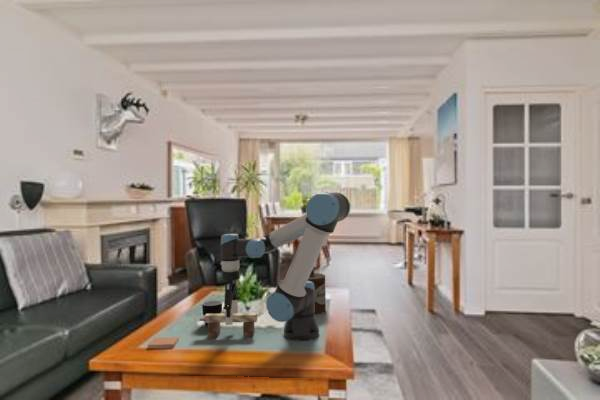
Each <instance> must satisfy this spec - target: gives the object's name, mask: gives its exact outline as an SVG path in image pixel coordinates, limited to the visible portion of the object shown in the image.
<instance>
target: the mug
mask: <svg viewBox="0 0 600 400" xmlns="http://www.w3.org/2000/svg"><path fill="white" fill-rule="evenodd" d="M201 305H202V307H201V308H202V316H203V315H206V314H216V313H223V302H222V301H221V300H216V299H215V300H207V301H204V302H202V303H201ZM203 323H204V325H205V326H206V327H208V323H205V321H203Z"/></svg>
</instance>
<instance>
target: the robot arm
mask: <svg viewBox="0 0 600 400" xmlns="http://www.w3.org/2000/svg"><path fill="white" fill-rule="evenodd" d="M305 206H306V207H305V214H303V215H301V216H298V218H297V217H296V218H295V219H294V220H292V221H290V222H288V223H286V224H284V225H282V226H280V227H279V228H276V229H274V230H273V231H270V232H269V233H267V234H265V235H262V236H257V237H254V238H253V237H252V238H248V239H247V238H240V237H239V233H224V234H221V237H220V251H221V252H220V253H221V255H220V256H221V262H220V265H221V270H222V271H221V280H222V281H226V284H225V285H224V303H223V305H224V306H222V310H224V311H225V312H224V313H225V318H226V322H225V326H233V323H234V322H232V313H239V312H238V311H239V310H238V309H239V307H238V301H239V300H240V297H239V291H238V283H237V281H238V280H239V279H240V270H239V269H240V258H251V259H256V258H257V259H259V258H262V257H263V255H264V254H270V253H272V252H274V251H276V250H277V249H278V248H280V247H283V246H284V245H286V244H289V243H290V242H293V241H295V240H297V239H299V238H300V239H301V240H300V241H299V244H298V246H297V249H296V250H295V254H294V256H293V258H292V260H291V263H290V265H289V268H288V270H287V272H286V275H285V276H284V279H281V280H279V281H278V282H277V283H278V284H277V286H276V288H275V291H274V292H273V293H270V295H269V296H268V297H267V299H266V301H265V307H266V310H267V313H268V315H269V316H270V317H271V318H272V319H273V320H275V321H276V322H279V323H280V322H281V323H284V322H285V324H284V328H283V335H284V337H285V338H287V339H289V340H293V341H309V340H314V339H315V338H316V339H317V337H319V335H320V329H319V328H320V327H319V324H318V322H317V318H316V315H315V289H314V283H313V282H311V281H308V278H309V276H310V274H311V272H312V269H314V267H315V264H316V263H317V260H318V258H319V256H320V253H321V251H322V248H323V246H324V243H326V239H327V237H328V235H331V234H333V233H334V231H335V229H336V226H337V224H338V222H341V221H344V220H345V219H346V218H347V217H348V216H349V213H350V210H351V203H350V201H349V198H347V196H345V195H344V194H343V193H340V192H328V191H326V192H325V191H323V192H319V193H316V194H314V195H313V196H311V197H310V198H309V200H307V203H306V205H305Z"/></svg>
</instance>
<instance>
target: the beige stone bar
mask: <svg viewBox="0 0 600 400" xmlns="http://www.w3.org/2000/svg"><path fill="white" fill-rule="evenodd" d="M198 321H199V322H204V321H205V323H220V324H221V323H226V318H225V312H224V313H223V312H222V313H216V314H206V315H203V314H202V315H201V317H200V318H199V320H198ZM257 321H258V312H244V313H243V312H238V313H232V322H233V323H244V322H254V323H257ZM205 323H204V324H205Z"/></svg>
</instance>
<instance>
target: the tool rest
mask: <svg viewBox="0 0 600 400" xmlns="http://www.w3.org/2000/svg"><path fill="white" fill-rule="evenodd" d="M255 329H256V328H255V322H242V330H243V331H242V333H243V335H242V336H243V338H254V335H255V331H256V330H255ZM220 334H221V323H208V326H207V339H218V337H219V336H220Z"/></svg>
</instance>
